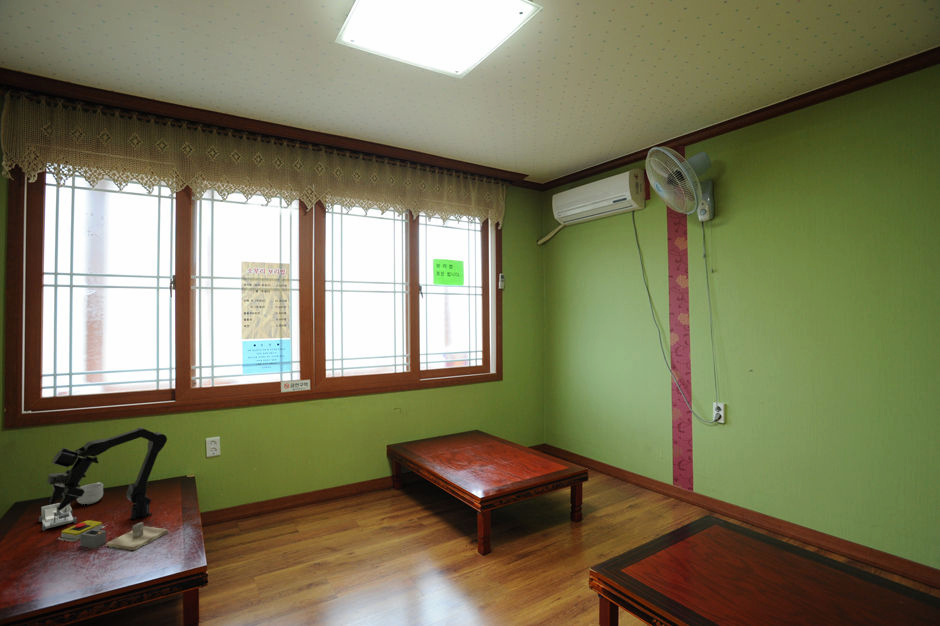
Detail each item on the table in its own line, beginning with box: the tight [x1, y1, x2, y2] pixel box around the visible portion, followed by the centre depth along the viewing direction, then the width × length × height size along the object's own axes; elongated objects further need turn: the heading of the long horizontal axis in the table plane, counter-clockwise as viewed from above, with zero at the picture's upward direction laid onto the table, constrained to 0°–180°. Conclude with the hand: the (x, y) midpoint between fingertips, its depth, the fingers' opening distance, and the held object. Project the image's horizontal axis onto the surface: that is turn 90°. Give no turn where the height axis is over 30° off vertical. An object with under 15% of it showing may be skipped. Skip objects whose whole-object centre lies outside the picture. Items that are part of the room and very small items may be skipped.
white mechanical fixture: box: [38, 502, 78, 532], centre depth 214 cm, size 18×10×12 cm
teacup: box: [76, 481, 104, 505], centre depth 239 cm, size 14×11×8 cm
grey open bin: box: [79, 529, 107, 549], centre depth 195 cm, size 7×5×5 cm, turn 76°
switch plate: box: [106, 521, 169, 551], centre depth 200 cm, size 16×14×6 cm
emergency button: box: [57, 520, 106, 543], centre depth 206 cm, size 9×4×15 cm
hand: (54, 506), depth 198 cm, fingers open, 9 cm apart
